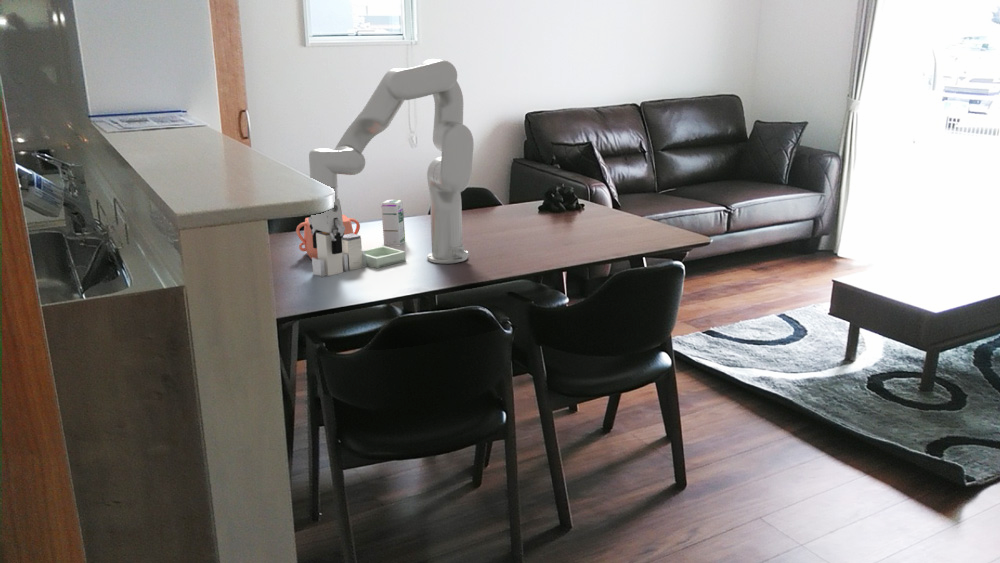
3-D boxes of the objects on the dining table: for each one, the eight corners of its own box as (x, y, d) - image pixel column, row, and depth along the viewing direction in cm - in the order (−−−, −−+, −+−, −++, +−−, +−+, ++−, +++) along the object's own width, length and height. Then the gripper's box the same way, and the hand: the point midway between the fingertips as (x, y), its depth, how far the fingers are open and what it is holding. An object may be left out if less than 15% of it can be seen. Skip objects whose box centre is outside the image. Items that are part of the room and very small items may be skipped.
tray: (405, 261, 246) (405, 251, 245) (377, 268, 238) (376, 258, 238) (384, 254, 253) (383, 245, 252) (355, 261, 246) (355, 252, 245)
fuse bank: (366, 266, 241) (364, 234, 238) (321, 277, 230) (319, 244, 227) (357, 263, 244) (355, 232, 241) (312, 274, 233) (310, 241, 230)
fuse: (342, 272, 235) (340, 231, 231) (328, 275, 231) (325, 234, 228) (333, 269, 238) (330, 228, 234) (319, 272, 235) (315, 231, 231)
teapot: (353, 243, 269) (351, 202, 265) (365, 256, 251) (363, 214, 247) (293, 249, 262) (289, 207, 258) (301, 263, 245) (297, 219, 241)
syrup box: (400, 245, 264) (398, 202, 260) (383, 245, 265) (380, 202, 261) (405, 241, 270) (403, 199, 265) (388, 241, 271) (386, 199, 267)
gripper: (353, 194, 224) (355, 253, 229) (319, 187, 236) (322, 243, 241) (330, 198, 219) (333, 258, 224) (296, 190, 231) (300, 247, 236)
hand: (327, 250), depth 233 cm, fingers open, 9 cm apart
